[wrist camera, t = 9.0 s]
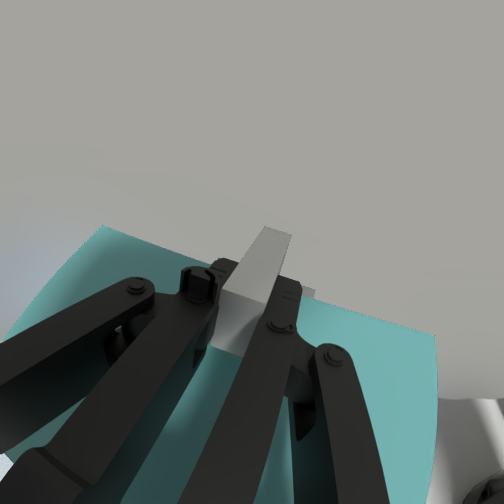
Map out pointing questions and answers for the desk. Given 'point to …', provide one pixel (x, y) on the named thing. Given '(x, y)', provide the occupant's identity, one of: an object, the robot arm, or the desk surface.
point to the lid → (225, 369)
